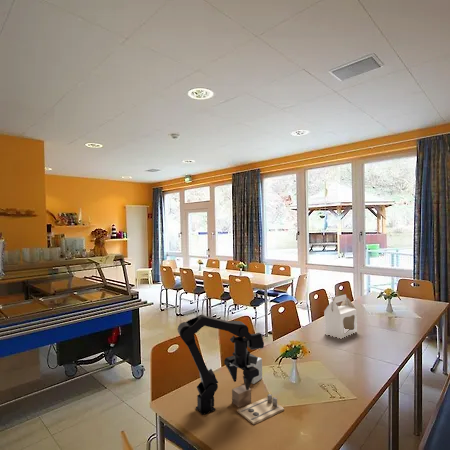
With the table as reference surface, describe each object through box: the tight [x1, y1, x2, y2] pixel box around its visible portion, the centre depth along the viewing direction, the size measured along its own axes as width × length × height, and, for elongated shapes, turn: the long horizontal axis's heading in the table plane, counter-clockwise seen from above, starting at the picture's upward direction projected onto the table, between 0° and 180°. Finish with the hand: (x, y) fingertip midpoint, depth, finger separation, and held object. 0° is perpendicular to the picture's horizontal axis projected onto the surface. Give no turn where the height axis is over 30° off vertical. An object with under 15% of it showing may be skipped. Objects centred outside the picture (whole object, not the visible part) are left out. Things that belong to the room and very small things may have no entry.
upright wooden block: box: [231, 384, 252, 408], centre depth 139 cm, size 7×5×6 cm
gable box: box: [323, 294, 358, 340], centre depth 228 cm, size 22×13×28 cm, turn 129°
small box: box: [247, 356, 263, 385], centre depth 160 cm, size 8×6×10 cm
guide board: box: [236, 393, 285, 426], centre depth 132 cm, size 17×11×4 cm, turn 125°
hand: (241, 385), depth 139 cm, fingers open, 9 cm apart
